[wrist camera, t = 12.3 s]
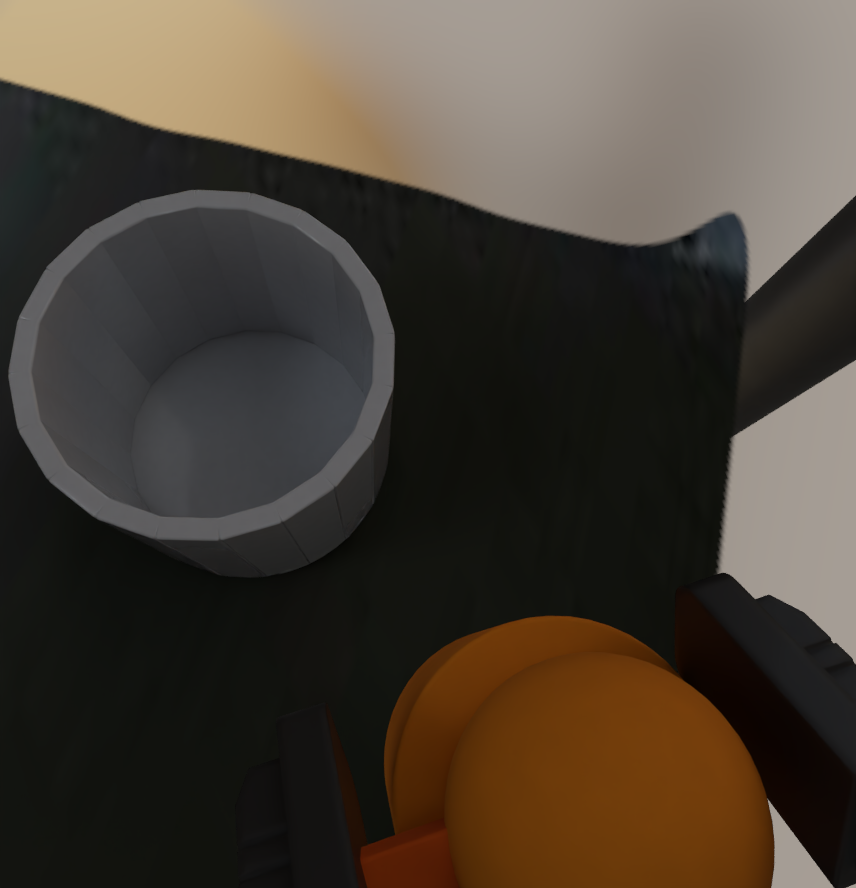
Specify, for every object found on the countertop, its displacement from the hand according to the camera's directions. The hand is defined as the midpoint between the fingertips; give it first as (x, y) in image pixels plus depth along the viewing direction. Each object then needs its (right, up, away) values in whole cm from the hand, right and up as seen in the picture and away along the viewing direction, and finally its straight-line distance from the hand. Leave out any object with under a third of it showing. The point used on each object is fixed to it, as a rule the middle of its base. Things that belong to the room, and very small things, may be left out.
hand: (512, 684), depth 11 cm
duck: (0, -3, +4) cm, 5 cm away
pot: (-8, +4, +18) cm, 20 cm away
